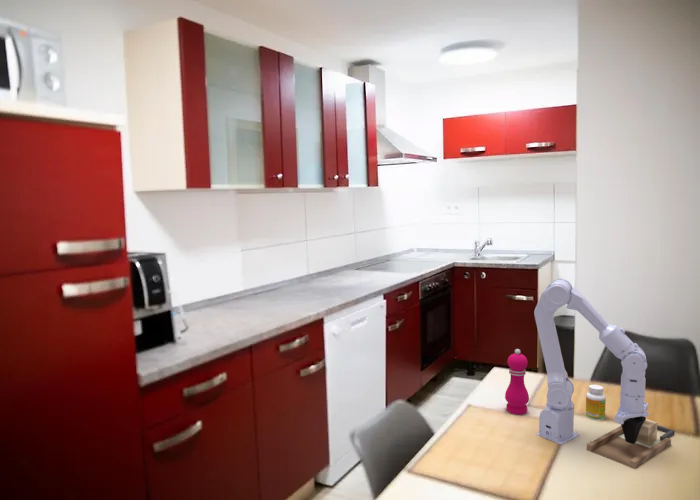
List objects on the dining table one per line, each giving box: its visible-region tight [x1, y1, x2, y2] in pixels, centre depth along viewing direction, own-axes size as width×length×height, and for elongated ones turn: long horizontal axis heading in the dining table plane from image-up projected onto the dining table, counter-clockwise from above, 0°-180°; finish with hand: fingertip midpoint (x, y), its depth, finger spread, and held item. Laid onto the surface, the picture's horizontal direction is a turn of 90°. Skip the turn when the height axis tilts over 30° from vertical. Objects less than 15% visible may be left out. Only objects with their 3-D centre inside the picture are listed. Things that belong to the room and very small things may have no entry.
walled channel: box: [586, 425, 672, 470], centre depth 142 cm, size 20×12×2 cm, turn 126°
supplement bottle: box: [585, 384, 607, 421], centre depth 161 cm, size 5×5×10 cm
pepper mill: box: [504, 348, 530, 415], centre depth 167 cm, size 7×7×20 cm
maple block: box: [636, 418, 658, 445], centre depth 146 cm, size 5×5×5 cm
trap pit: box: [657, 424, 675, 441], centre depth 150 cm, size 7×8×2 cm
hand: (630, 442), depth 142 cm, fingers closed
